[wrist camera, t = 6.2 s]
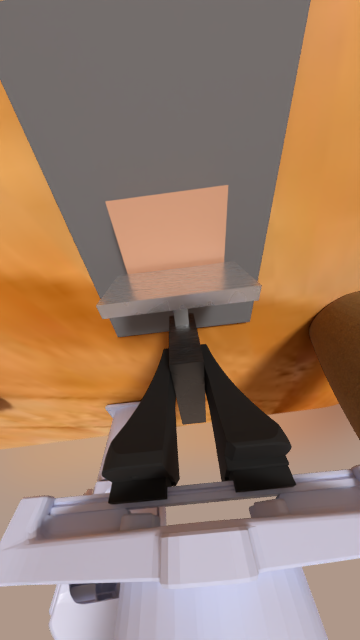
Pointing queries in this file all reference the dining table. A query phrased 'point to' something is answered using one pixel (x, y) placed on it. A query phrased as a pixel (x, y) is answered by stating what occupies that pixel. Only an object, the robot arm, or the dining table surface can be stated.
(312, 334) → the plant pot
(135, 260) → the tile
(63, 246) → the dining table surface
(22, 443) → the dining table surface
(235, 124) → the mat
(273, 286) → the dining table surface
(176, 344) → the turner
